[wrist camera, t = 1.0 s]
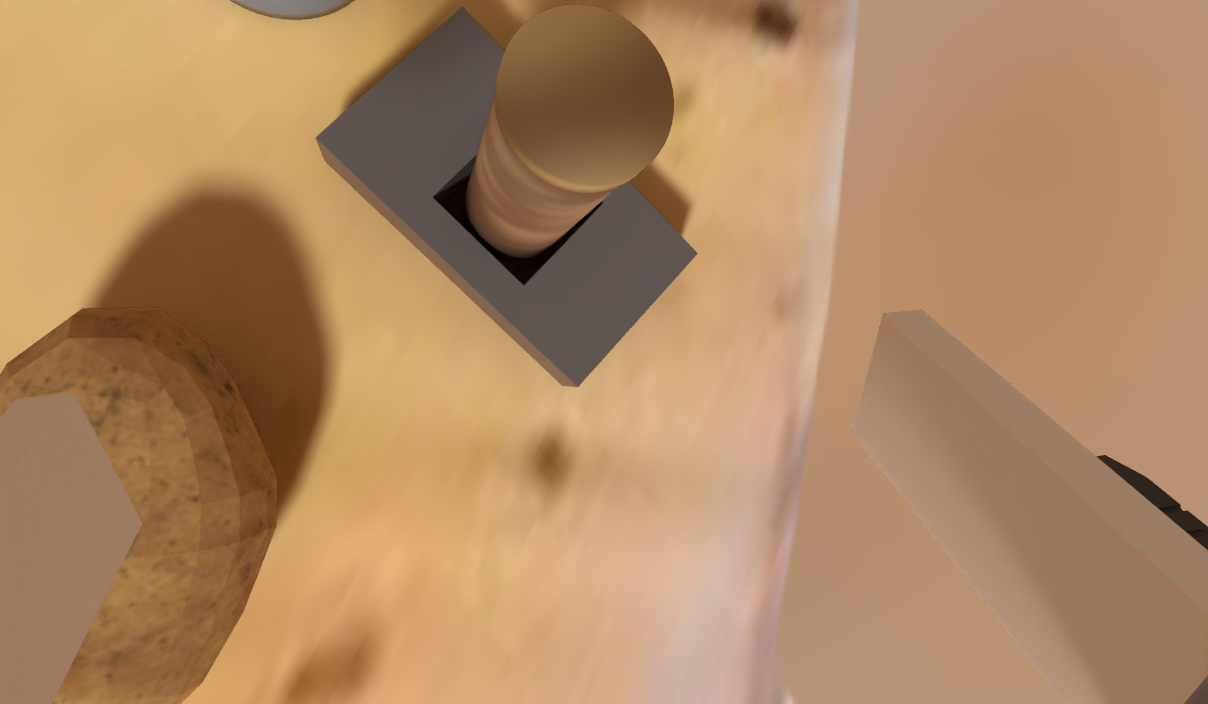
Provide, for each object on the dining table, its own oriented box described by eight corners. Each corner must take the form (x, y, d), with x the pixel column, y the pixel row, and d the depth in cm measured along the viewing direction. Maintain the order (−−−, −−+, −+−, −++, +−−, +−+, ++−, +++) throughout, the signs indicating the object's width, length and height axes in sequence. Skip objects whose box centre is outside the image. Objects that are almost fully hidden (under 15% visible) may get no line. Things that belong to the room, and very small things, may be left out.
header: (325, 161, 29) (315, 137, 26) (457, 41, 30) (462, 6, 27) (562, 385, 31) (577, 386, 28) (672, 263, 33) (697, 253, 30)
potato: (315, 330, 28) (279, 315, 21) (274, 672, 28) (221, 788, 20) (40, 300, 26) (-118, 271, 18) (-14, 677, 25) (-203, 814, 17)
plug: (437, 214, 30) (458, 84, 16) (508, 144, 31) (584, -33, 17) (513, 287, 31) (593, 222, 17) (580, 217, 32) (707, 104, 18)
